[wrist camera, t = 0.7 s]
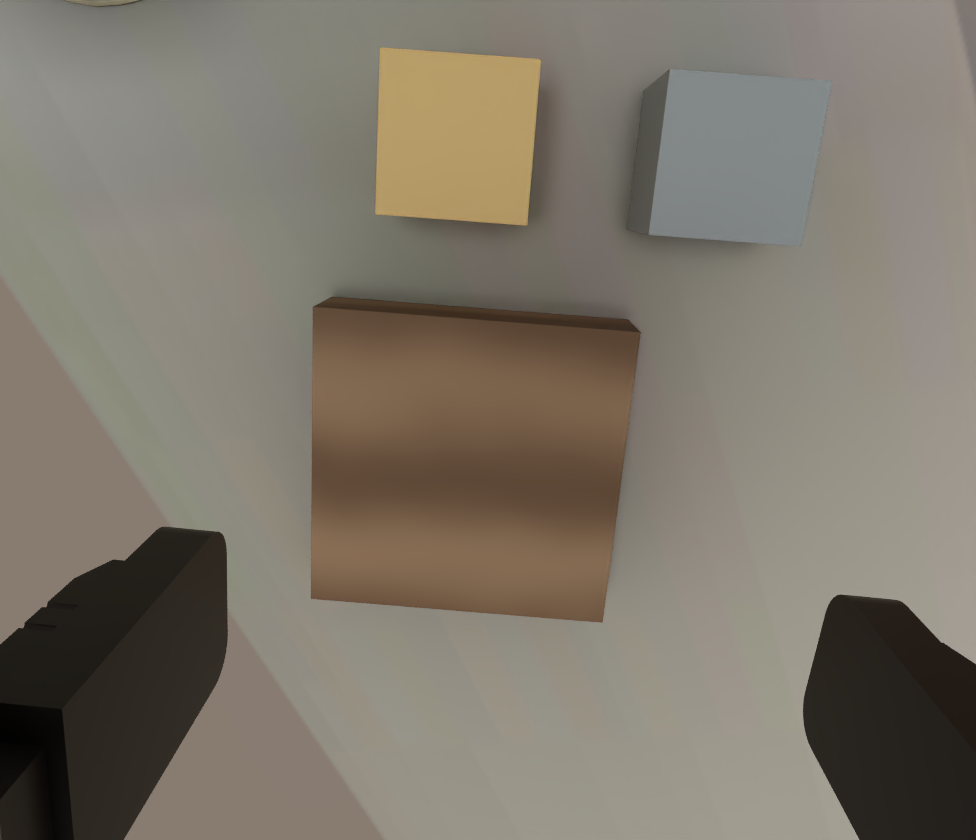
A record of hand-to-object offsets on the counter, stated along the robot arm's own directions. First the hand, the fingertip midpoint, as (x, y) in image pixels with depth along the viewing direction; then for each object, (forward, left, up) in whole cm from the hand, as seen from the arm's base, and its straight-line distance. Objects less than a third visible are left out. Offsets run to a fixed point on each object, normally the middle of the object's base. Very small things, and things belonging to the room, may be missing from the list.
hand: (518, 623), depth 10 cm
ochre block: (-7, -2, -22) cm, 23 cm away
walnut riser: (+5, -1, -22) cm, 22 cm away
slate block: (-7, +7, -22) cm, 24 cm away
